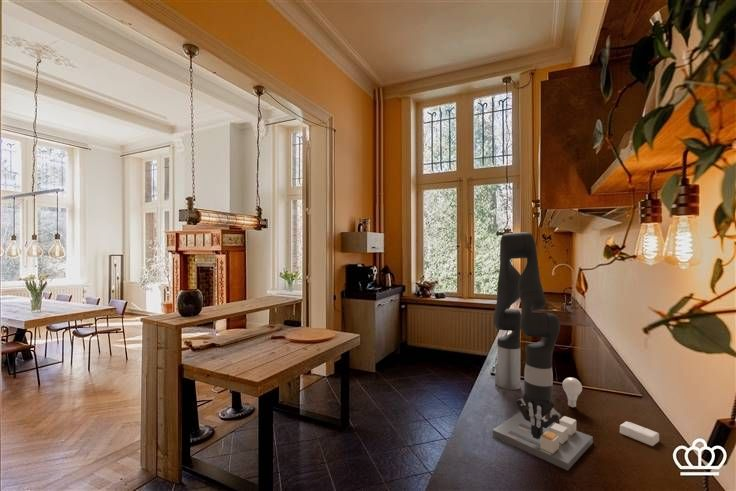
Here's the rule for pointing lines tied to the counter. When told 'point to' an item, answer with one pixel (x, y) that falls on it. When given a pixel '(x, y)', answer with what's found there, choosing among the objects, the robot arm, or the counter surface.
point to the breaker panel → (521, 437)
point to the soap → (639, 433)
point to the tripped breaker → (549, 442)
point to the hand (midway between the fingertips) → (536, 437)
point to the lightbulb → (572, 390)
